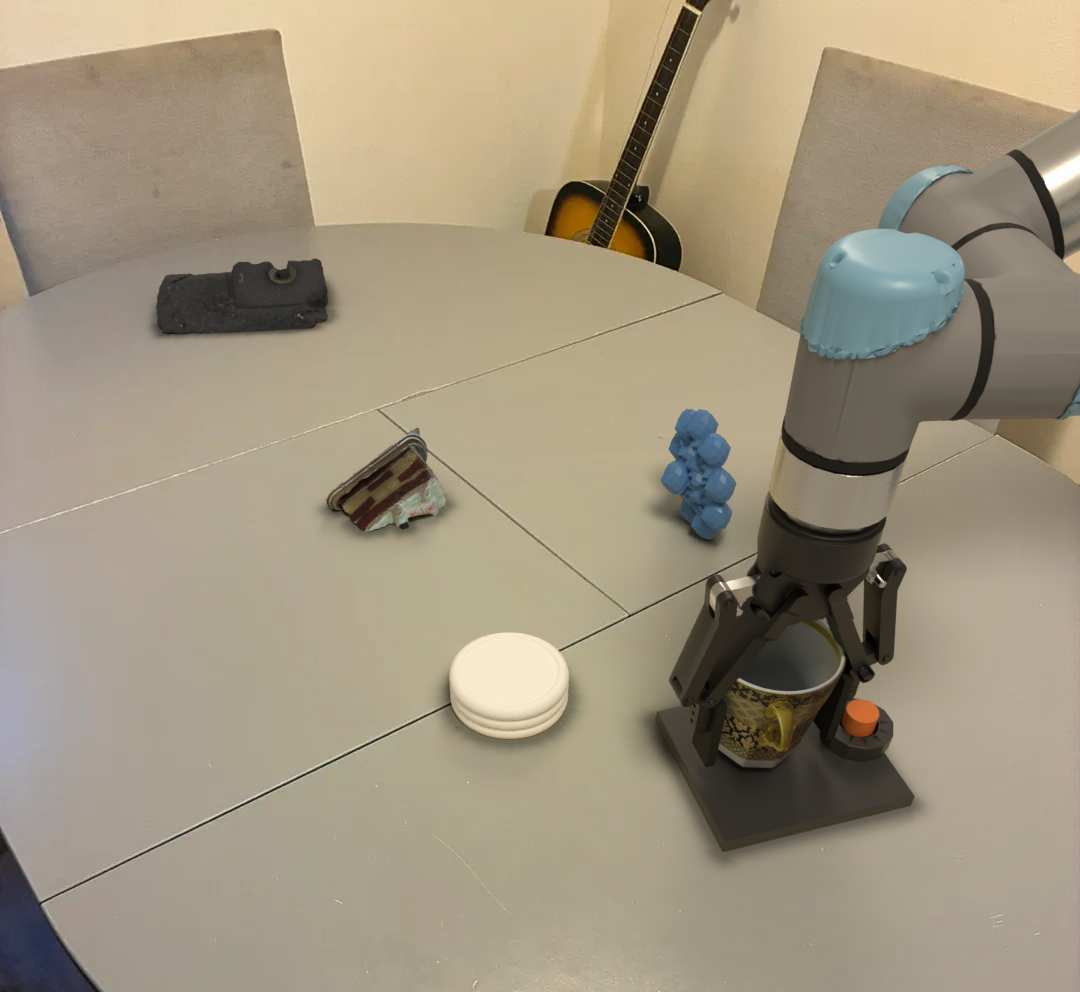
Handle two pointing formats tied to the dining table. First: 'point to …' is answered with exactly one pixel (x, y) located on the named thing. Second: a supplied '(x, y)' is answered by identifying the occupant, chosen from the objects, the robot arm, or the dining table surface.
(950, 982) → the dining table surface
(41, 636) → the dining table surface
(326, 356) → the dining table surface
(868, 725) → the button
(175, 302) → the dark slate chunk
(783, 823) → the dark grey flat slab
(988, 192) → the robot arm
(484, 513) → the dining table surface
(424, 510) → the chocolate cake
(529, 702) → the coaster
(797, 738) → the ceramic cup
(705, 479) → the grapes
